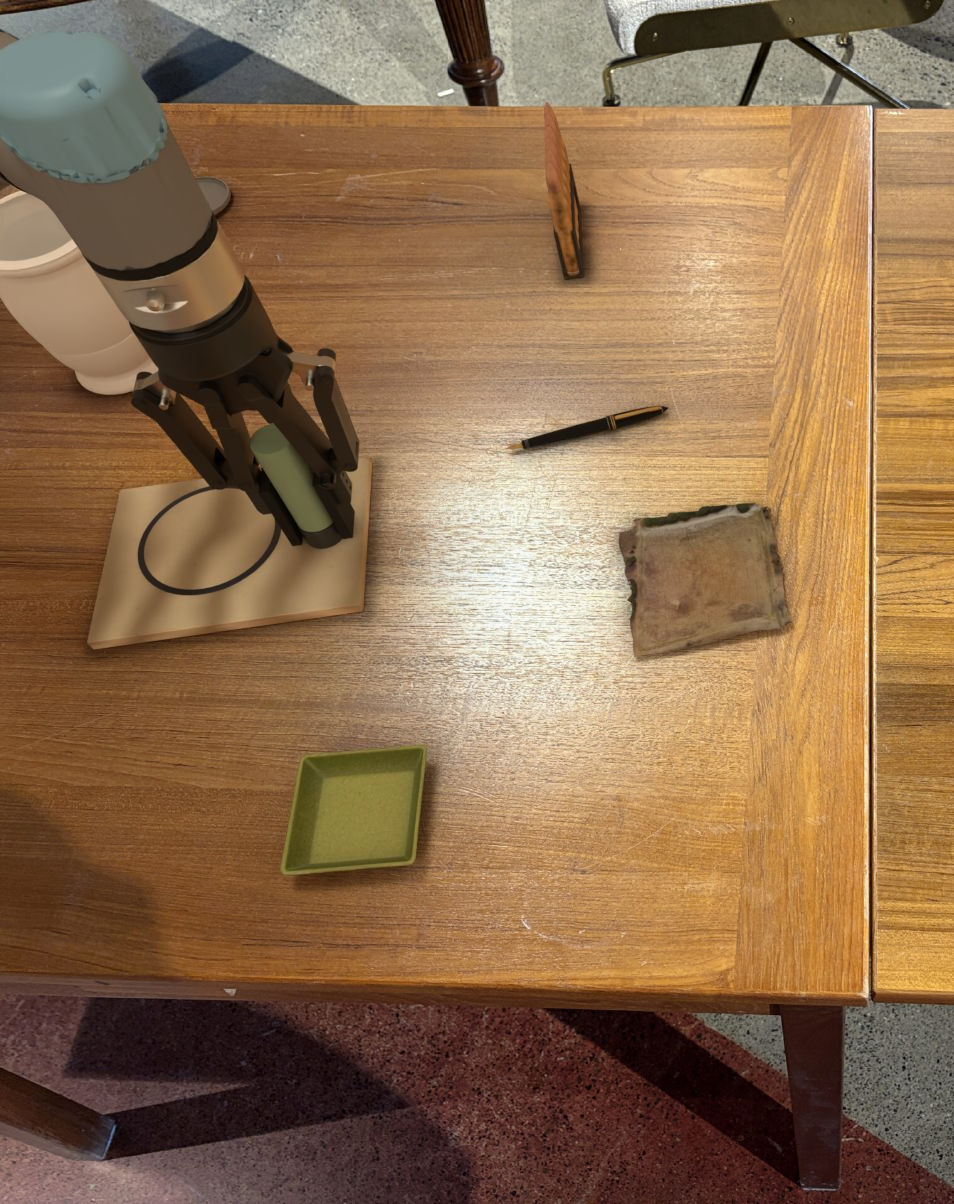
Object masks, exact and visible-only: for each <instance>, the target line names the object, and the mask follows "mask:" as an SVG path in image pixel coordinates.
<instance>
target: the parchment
mask: <svg viewBox="0 0 954 1204" xmlns="http://www.w3.org/2000/svg"><path fill="white" fill-rule="evenodd" d="M771 512H772V508H770V507H768V506H764V507H763V506H761V505H760V504H758V503H756V502H752V503H751V502H747V503H745V502H744V503H736V504H721V505H704V506H701V507H700V508H699V509H698V510H692V511H675V512H668V513H667V515H665V516H655V517H649V516H648V517H639V518H638V517H637V518H635V519H633V520H632V522H634V524H635V525H634V526H633V527H632V529H629V530H625V531H622V532H619V535H618V547H619V550H620V553H621V554H622V555H623V563H624V565H625V567H624V575H625V578H626V581H627V582H629V581H630V582H631V584H630V590H631V594H630V596H629V597H628V598H627V601H628V602H629V603H631V606H632V607H631V613H630V616H629V627H630V633H631V636H632V649H633V650H632V651H633V656H634V657H639V656H648V655H654V654H662V653H669V652H676V651H681V650H686V649H690V648H694V647H697V646H702V645H703V646H704V645H706V644H711V643H715V642H718V641H723V640H726V639H729V638H732V637H735V636H740V635H743V634H747V633H752V632H756V631H757V632H758V631H772V630H784V629H785V626H786V625H787V624H788V625H789V623H792V624H793V620H792V617H791V614H790V611H789V609H788V608H787V605H786V596H785V589H784V586H783V585H784V580H783V570H784V567H781V565H780V564H779V563H781V561H782V560H781V559H782V557H781V556H780V554H778V552H777V551H776V550H775V547H776V546H777V541H776V537H775V534H774V530H773V525H772V518H771V517H770V516H769V515H770V514H771Z"/></svg>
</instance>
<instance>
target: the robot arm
mask: <svg viewBox="0 0 954 1204" xmlns="http://www.w3.org/2000/svg"><path fill="white" fill-rule="evenodd" d="M195 177H196V176H195V175H194V173H193V171H192V169H191V167H190V165H189V162H188V161H187V158H186V157H185V155H184V153H183V151H182V150H181V147H180V145H179V143H178V141H177V139H176V137H175V135H174V133H173V131H172V129H171V127H170V125H169V123H168V121H167V117H166V115H165V112H164V109H163V107H162V105H161V103H159V102H158V98H157V96H156V94H155V93H154V91H152V89H151V88H150V87H149V85H147V84H146V81H144V78H143V77H142V75H141V74H140V72H139V71H138V69H137V67H136V65H135V64H134V62H133V60H132V59H131V57H130V56H129V55H128V53H127V52H126V51H125V50H124V49H123V48H122V47H121V46H120V45H119V44H118V43H117V42H116V41H114V40H112V39H110V38H109V37H107V36H105V35H102V34H100V33H97V32H93V31H90V30H83V31H78V32H75V33H73V32H72V31H70V30H68V29H53V30H47V31H42V32H38V33H35V34H31V35H28V36H25V37H23V38H19V37H17V36H15V35H14V34H12V33H11V32H9V31H8V30H5V29H3V28H0V192H1V191H2V190H4V189H5V188H7V187H9V186H12V187H14V188H15V189H17V190H18V191H23V192H25V193H28V194H30V195H33V196H34V197H36V198H38V199H40V200H42V201H43V202H44V203H45V204H46V205H48V207H49V208H50V209H51V210H52V211H53V212H54V213H55V215H56V216H57V218H58V219H59V221H60V222H61V224H62V225H63V226H64V228H65V229H66V231H67V232H68V234H69V235H70V237H71V238H72V240H73V241H74V242H75V244H76V245H77V247H78V248H79V250H80V251H81V253H82V255H83V256H84V258H85V259H86V261H87V262H88V263H89V265H90V266H91V268H92V270H93V271H94V273H95V274H96V276H97V277H98V279H99V280H100V282H101V283H102V285H103V286H104V288H105V289H106V291H107V292H108V294H109V295H110V297H111V298H112V300H113V301H114V303H115V304H116V306H117V307H118V309H119V310H120V312H121V313H122V314H123V316H124V317H125V318H126V319H127V320H128V321H129V325H130V327H131V329H132V331H133V332H134V334H135V335H136V337H137V338H138V340H139V341H140V343H141V345H142V346H143V348H144V349H145V351H146V352H147V354H148V355H149V357H150V358H151V360H152V361H153V363H154V364H155V365H156V366H157V367H158V371H157V372H155V373H154V374H152V373H150V372H146V371H142V372H139V373H138V374H137V377H136V381H135V385H134V390H133V391H132V395H131V399H130V404H131V406H132V407H133V408H135V409H136V410H138V411H139V412H141V413H142V414H144V415H145V416H147V417H148V418H150V419H151V420H153V421H154V422H156V423H157V425H158V426H159V427H160V428H161V430H162V431H163V432H164V433H165V434H166V436H168V438H169V439H170V440H171V442H172V443H173V444H174V445H175V446H176V448H177V449H178V450H179V451H180V452H181V454H182V455H183V456H184V457H185V458H186V460H187V461H188V462H189V464H191V466H192V467H193V468H194V469H195V470H196V472H197V473H198V474H199V475H200V476H201V477H202V479H204V480H205V481H206V482H207V483H208V485H209V486H210V487H211V488H213V489H216V490H223V489H225V488H226V487H227V485H230V486H237V487H238V488H239V489H240V490H242V491H245V492H246V494H247V495H248V497H249V499H250V500H251V502H252V503H253V505H254V506H255V508H256V509H257V511H258V512H260V513H261V514H263V515H266V514H272V515H273V517H274V518H275V520H276V522H277V523H278V525H279V526H280V528H281V529H282V531H283V532H284V534H285V536H286V537H287V539H288V540H289V542H290V543H291V545H292V546H299V545H302V542H303V535H302V534H301V532H300V530H299V529H298V527H297V524H296V521H295V520H294V518H293V516H292V515H291V513H290V512H289V510H288V508H287V507H286V505H285V503H284V502H283V500H282V499H281V497H280V495H279V494H278V492H277V490H276V489H275V487H274V486H273V484H272V482H271V481H270V479H269V478H268V476H267V474H266V473H265V471H264V469H263V468H262V467H261V469H260V463H259V461H258V460H257V458H256V456H255V455H254V453H253V452H252V450H251V448H250V439H251V435H250V433H249V429H248V427H247V424H246V421H245V419H244V416H243V412H245V411H251V412H253V411H254V412H258V414H260V416H261V417H262V418H263V419H264V420H265V422H266V423H267V424H268V425H270V424H274V425H275V426H276V427H277V428H278V429H279V431H280V432H281V433H282V434H283V435H284V437H285V438H286V439H287V440H288V441H289V442H290V444H291V445H292V446H293V447H294V448H295V450H296V451H297V452H298V453H299V454H300V455H301V457H302V458H303V459H304V460H305V461H306V463H307V464H308V465H309V466H310V467H311V468H312V470H313V471H314V474H313V484H312V486H313V488H314V490H315V491H316V493H317V495H318V496H319V498H320V500H321V502H322V503H323V505H324V507H325V509H326V510H327V512H328V514H329V516H330V517H331V519H332V521H333V522H334V524H335V526H336V528H337V529H338V531H339V533H340V535H341V536H342V538H343V539H349V538H353V530H354V516H355V511H354V509H353V507H352V505H351V497H352V482H351V480H350V478H349V476H348V475H347V473H346V471H347V472H353V471H356V470H357V468H358V458H360V439H359V437H358V434H357V431H356V429H355V427H354V426H355V425H354V423H353V421H352V418H351V415H350V413H349V410H348V407H347V405H346V403H345V399H344V397H343V394H342V392H341V389H340V386H339V384H338V381H337V379H336V375H335V374H336V364H337V353H336V352H335V351H334V350H333V349H331V348H329V347H322V348H320V349H319V350H317V353H316V355H315V354H308V353H302V352H296V351H294V349H293V348H292V347H293V346H291V345H290V343H288V342H287V341H285V339H283V338H281V337H280V336H279V335H278V334H277V333H276V331H275V328H274V326H273V323H272V322H271V319H270V317H269V315H268V313H267V311H266V309H265V307H264V305H263V304H262V301H261V299H260V298H259V296H258V294H257V292H256V290H255V288H254V286H253V284H252V282H251V281H250V279H249V277H247V275H246V274H245V269H244V267H243V264H242V263H241V261H240V259H239V257H238V256H237V254H236V251H235V250H234V248H233V246H232V244H231V243H230V240H229V238H228V237H227V235H226V233H225V232H224V229H223V228H222V226H221V224H220V223H219V221H218V219H217V217H216V215H214V213H213V211H212V210H211V208H210V206H209V204H208V202H207V200H206V198H205V196H204V194H203V192H202V190H201V188H200V187H199V185H198V183H197V181H196V179H195ZM292 373H294V374H297V375H298V376H299V377H300V379H301V382H302V384H304V386H305V389H306V390H307V391H310V392H312V398H313V402H314V405H315V408H316V411H317V413H318V415H319V418H320V420H321V423H322V425H323V428H324V430H325V433H326V434H325V433H324V431H323V430H322V429H321V427H319V425H318V424H317V422H316V421H315V420H314V419H313V418H312V417H311V415H310V414H309V413H308V412H307V410H306V408H305V407H304V406H303V405H302V404H301V403H300V402H299V400H298V398H296V396H295V395H294V394H293V392H292V391H293V390H292V387H291V385H290V383H289V382H288V381H289V379H290V377H291V374H292ZM184 397H185V398H186V399H189V400H190V401H192V402H195V403H197V404H198V405H201V406H202V407H203V408H204V410H205V413H206V415H207V418H208V421H209V423H210V426H211V428H212V430H215V431H216V434H217V437H218V439H219V441H220V444H221V445H220V444H219V442H218V441H217V440H216V438H215V437H214V436H213V435H212V433H211V432H210V431H209V430H208V428H207V427H206V426H205V424H204V423H203V422H202V421H201V419H200V418H199V417H198V415H197V414H196V413H195V412H194V410H193V409H192V408H191V406H190V405H189V404H188V403H187V401H186V400H185V399H184Z"/></svg>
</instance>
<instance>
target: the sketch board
mask: <svg viewBox="0 0 954 1204" xmlns="http://www.w3.org/2000/svg"><path fill="white" fill-rule="evenodd" d="M372 463H373V462H372V461H371V458H370V457H369V456H365V457H359V458H358V468H357V470H356V471H353V472H347V471H346V473H347V475H348V476H349V478H350V480H351V482H352V497H351V505H352V507H353V509H354V511H355V516H354V530H353V538H349V539H342V540H341V541H340V542H339V543H338V544H336V545H334V546H332V547H329V548H325V549H317V548H314V547H312V546H310V545H309V544H308V543H307V542H306V540H305V538H304V537H303V542H302V545H299V546H292V545H291V543H290V542H289V540H288V539H287V537H286V536H285V534H284V532H283V531H282V529H281V528H280V526H279V525H278V523H277V522H276V520H275V518H274V517H273V515H272V514H266V515H263V514H261V513H260V512H258V511H257V509H256V508H255V506H254V505H253V503H252V502H251V500H250V499H249V497H248V495H247V494H246V492H245V491H242V490H240V489H239V488H238V487H237V486H230V485H227V487H226V488H225V489H223V490H216V489H213V488H211V487H210V486H209V485H208V483H207V482H206V481H205V480H204V479H203V478H198V479H197V478H196V479H190V480H181V481H174V482H168V483H160V484H151V485H146V486H137V487H129V488H123V489H119V493H118V496H117V497H118V498H117V503H116V506H115V512H114V516H113V520H112V525H111V530H110V535H109V539H108V543H107V548H106V552H105V557H104V562H103V567H102V571H101V575H100V580H99V585H98V589H97V594H96V598H95V602H94V603H95V604H94V608H93V613H92V619H91V621H90V626H89V630H88V637H87V640H86V643H87V645H88V646H89V647H90V648H91V649H93V650H99V649H100V650H101V649H106V648H107V649H108V648H115V647H121V646H129V645H137V644H144V643H149V642H156V641H163V640H164V641H165V640H170V639H177V638H184V637H191V636H198V635H199V636H200V635H205V634H215V633H221V632H229V631H234V630H243V629H248V628H255V627H263V626H269V625H275V624H276V625H277V624H285V623H291V622H298V621H303V620H311V619H318V618H325V617H332V616H339V615H347V614H354V613H360V612H361V613H362V612H364V610H365V609H364V607H365V593H366V592H365V591H366V575H367V574H366V573H367V559H368V558H367V557H368V539H369V525H370V510H371V509H370V507H371V492H372V491H371V490H372V473H373V464H372Z"/></svg>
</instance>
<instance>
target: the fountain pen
mask: <svg viewBox="0 0 954 1204" xmlns="http://www.w3.org/2000/svg"><path fill="white" fill-rule="evenodd" d="M667 410H669V407H668V406H664V405H652V406H645V407H639V408H635V409H630V410H626V411H621V412H618V413H613V414H610V415H606V416H605V417H601V418H598V419H594V420H589V421H585V422H582V423H578V424H574V425H571V426H567V427H564V428H560V429H557V430H553V431H550V432H546V433H542V434H539V435H536V436H533V437H529V438H526V439H521V442H519V443H514V444H511V445H509V446H508V447H505V448H504V450H512V451H515V450H518V449H523V450H524V451H525V450H528V449H531V448H537V447H541V446H546V445H550V444H554V443H555V444H556V443H559V442H563V441H569V440H572V439H573V440H574V439H576V438H577V439H578V438H581V437H585V436H589V435H593V434H594V435H595V434H597V433H601V432H605V431H613V430H617V429H621V428H624V427H628V426H631V425H635V424H638V423H641V422H645V421H648V420H651V419H653V418H656V417H658V416H661V415H663V414H664V413H665V412H666V411H667Z"/></svg>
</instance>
